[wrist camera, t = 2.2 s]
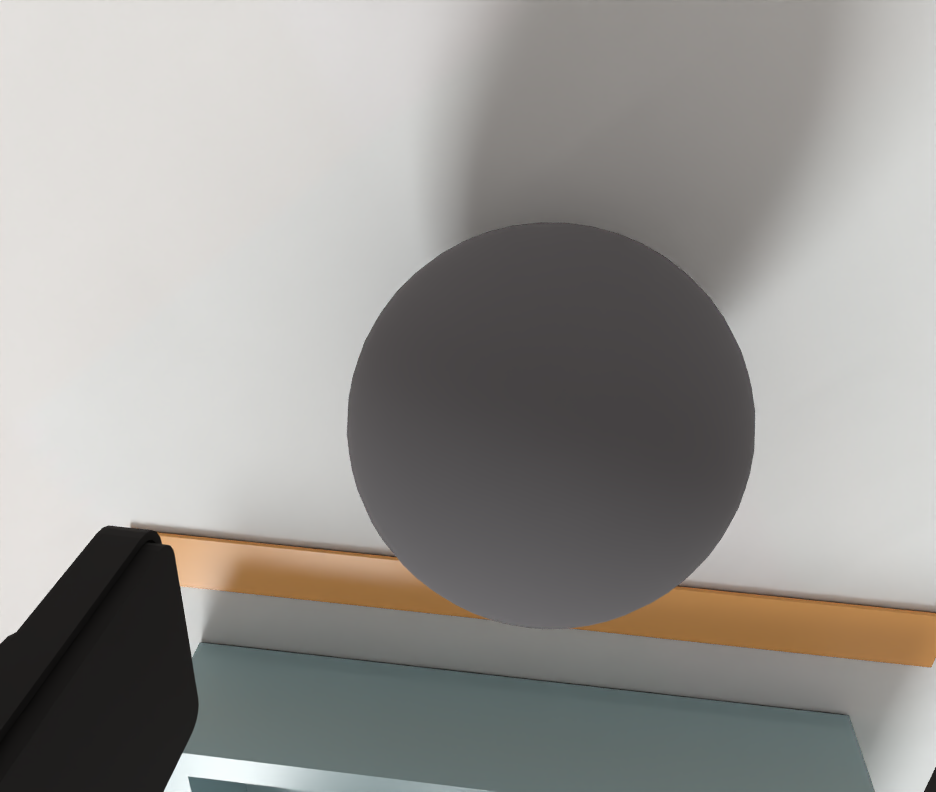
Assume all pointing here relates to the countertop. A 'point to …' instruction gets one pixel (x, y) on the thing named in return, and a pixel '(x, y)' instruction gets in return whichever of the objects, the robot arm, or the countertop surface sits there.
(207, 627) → the countertop surface
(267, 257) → the countertop surface
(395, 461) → the ball
